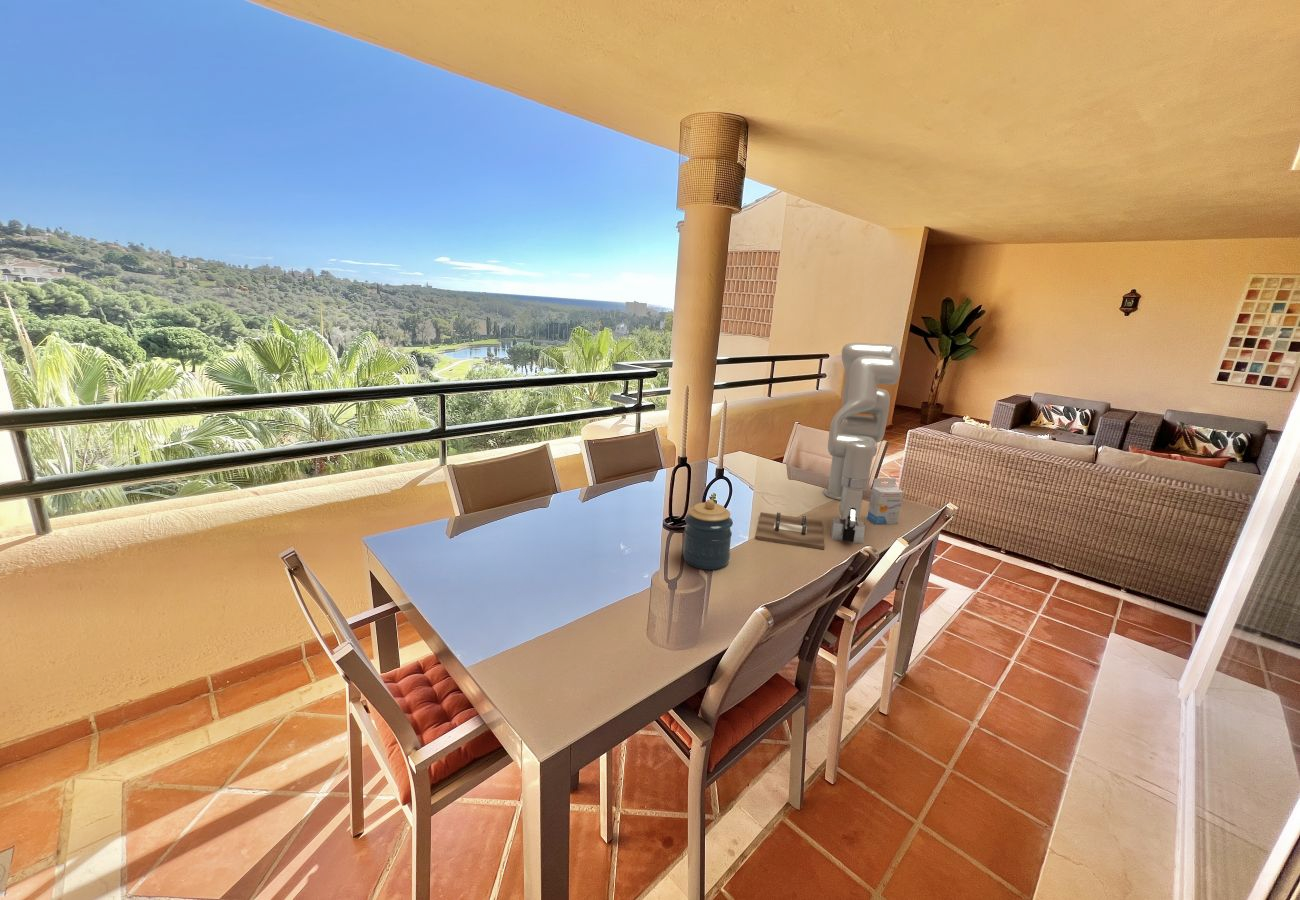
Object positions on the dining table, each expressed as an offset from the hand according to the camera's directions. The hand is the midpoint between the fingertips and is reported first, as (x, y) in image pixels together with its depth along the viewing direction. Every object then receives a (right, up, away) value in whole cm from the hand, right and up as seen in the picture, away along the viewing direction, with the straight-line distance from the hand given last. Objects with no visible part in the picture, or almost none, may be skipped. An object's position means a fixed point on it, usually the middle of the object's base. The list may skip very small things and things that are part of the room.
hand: (846, 535), depth 156 cm
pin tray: (-17, +1, +4) cm, 17 cm away
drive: (0, -1, 0) cm, 1 cm away
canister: (-46, -4, -16) cm, 49 cm away
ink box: (+18, +2, +15) cm, 23 cm away
